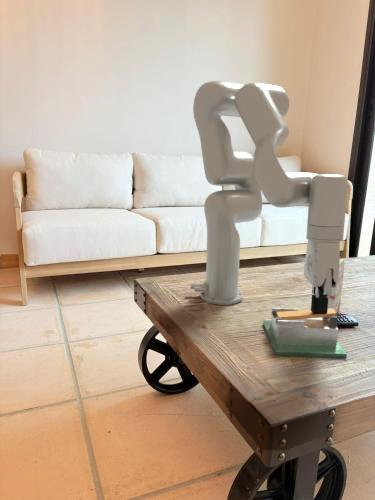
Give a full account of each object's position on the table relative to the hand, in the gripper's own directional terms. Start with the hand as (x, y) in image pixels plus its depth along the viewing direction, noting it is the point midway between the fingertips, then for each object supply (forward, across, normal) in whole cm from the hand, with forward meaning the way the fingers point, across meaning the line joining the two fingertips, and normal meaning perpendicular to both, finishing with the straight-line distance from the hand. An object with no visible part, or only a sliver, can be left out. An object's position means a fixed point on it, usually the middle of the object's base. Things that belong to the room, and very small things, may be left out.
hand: (318, 312), depth 89 cm
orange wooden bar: (+1, -1, -3) cm, 3 cm away
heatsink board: (+7, -1, -3) cm, 8 cm away
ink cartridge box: (+7, -17, +8) cm, 20 cm away
